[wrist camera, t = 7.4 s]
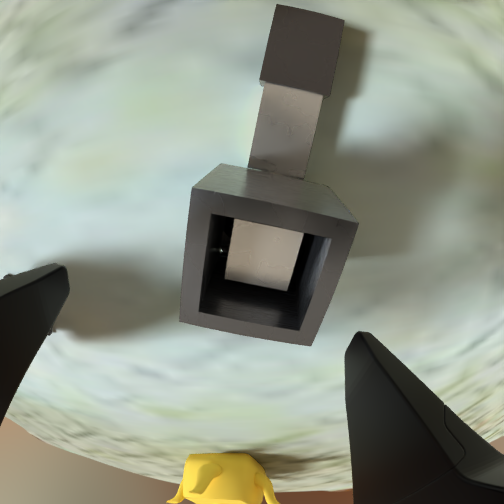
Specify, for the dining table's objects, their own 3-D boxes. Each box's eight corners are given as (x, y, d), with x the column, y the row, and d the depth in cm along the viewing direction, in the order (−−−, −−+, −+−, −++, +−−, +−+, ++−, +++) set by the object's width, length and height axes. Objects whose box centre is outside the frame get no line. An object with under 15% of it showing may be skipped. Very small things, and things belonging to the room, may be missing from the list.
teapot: (288, 458, 34) (288, 512, 26) (251, 480, 40) (247, 523, 32) (195, 437, 33) (182, 495, 24) (175, 462, 39) (164, 506, 30)
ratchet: (298, 261, 20) (307, 320, 14) (214, 244, 20) (190, 297, 14) (352, 36, 13) (389, 1, 7) (258, 14, 13) (251, -33, 7)
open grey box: (301, 279, 18) (311, 346, 12) (206, 260, 18) (179, 321, 12) (328, 186, 15) (359, 223, 10) (220, 163, 15) (192, 187, 10)
